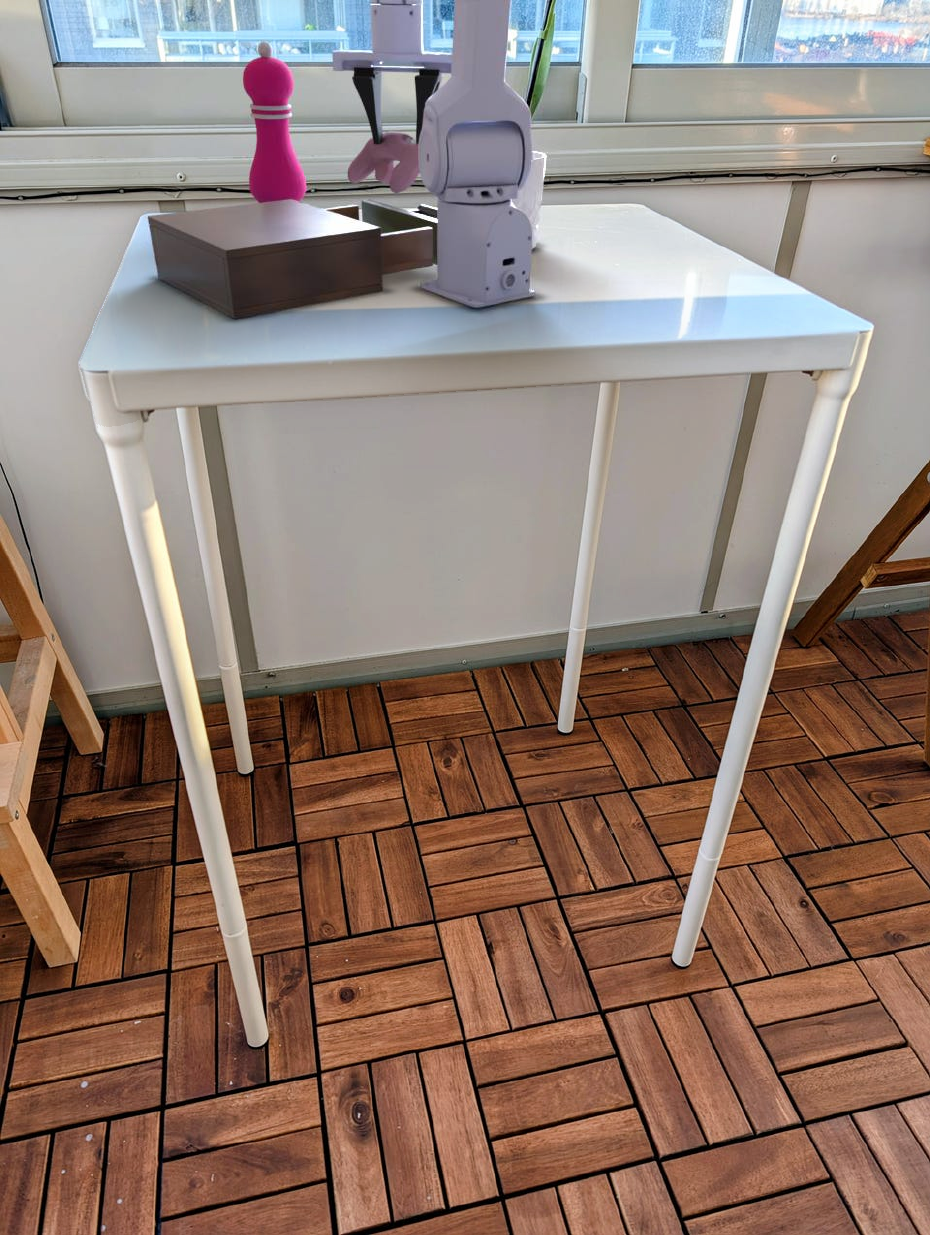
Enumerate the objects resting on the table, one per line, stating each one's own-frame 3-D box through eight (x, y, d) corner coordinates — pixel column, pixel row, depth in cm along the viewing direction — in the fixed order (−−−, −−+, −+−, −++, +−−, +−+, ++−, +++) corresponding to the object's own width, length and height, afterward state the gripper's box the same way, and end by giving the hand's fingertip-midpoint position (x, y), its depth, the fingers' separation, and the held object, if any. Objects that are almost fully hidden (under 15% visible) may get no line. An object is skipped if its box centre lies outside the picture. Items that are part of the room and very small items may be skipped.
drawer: (403, 233, 110) (402, 195, 108) (489, 261, 100) (490, 219, 97) (253, 256, 100) (249, 214, 97) (332, 289, 89) (329, 243, 87)
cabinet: (296, 256, 103) (291, 198, 100) (383, 291, 92) (381, 227, 89) (157, 278, 95) (147, 216, 91) (234, 319, 84) (225, 250, 80)
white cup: (541, 240, 112) (546, 150, 106) (539, 255, 106) (545, 160, 100) (478, 237, 113) (480, 148, 107) (472, 252, 106) (474, 158, 101)
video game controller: (419, 205, 107) (439, 144, 106) (392, 190, 104) (412, 127, 102) (369, 193, 113) (387, 135, 112) (341, 178, 110) (359, 118, 108)
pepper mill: (297, 229, 115) (282, 43, 103) (244, 226, 116) (223, 41, 104) (316, 218, 121) (304, 41, 109) (265, 215, 122) (247, 39, 110)
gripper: (466, 5, 101) (464, 141, 109) (339, 3, 102) (346, 137, 110) (458, 6, 95) (457, 150, 103) (324, 3, 97) (333, 145, 104)
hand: (399, 144), depth 106 cm, fingers closed on video game controller, 4 cm apart
